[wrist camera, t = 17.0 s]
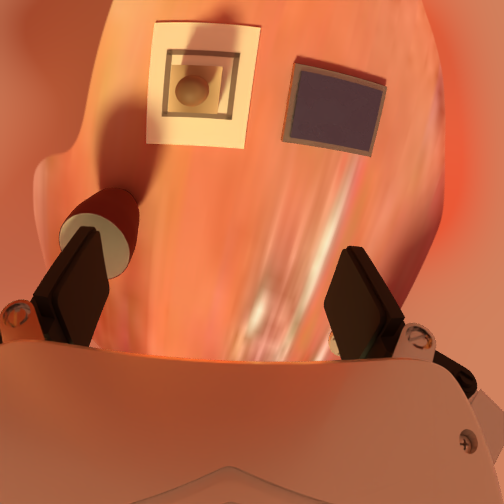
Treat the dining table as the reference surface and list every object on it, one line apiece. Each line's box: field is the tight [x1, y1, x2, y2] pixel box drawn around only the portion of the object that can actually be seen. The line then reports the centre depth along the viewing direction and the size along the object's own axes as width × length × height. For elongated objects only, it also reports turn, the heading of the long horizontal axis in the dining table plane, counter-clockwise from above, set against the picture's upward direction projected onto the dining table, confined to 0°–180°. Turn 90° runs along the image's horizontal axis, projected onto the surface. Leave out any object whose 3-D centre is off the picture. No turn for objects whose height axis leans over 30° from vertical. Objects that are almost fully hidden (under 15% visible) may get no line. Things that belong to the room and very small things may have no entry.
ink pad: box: [281, 63, 387, 157], centre depth 30 cm, size 11×9×2 cm
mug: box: [59, 188, 139, 279], centre depth 31 cm, size 11×8×10 cm
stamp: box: [168, 65, 223, 114], centre depth 24 cm, size 4×4×9 cm
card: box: [146, 22, 261, 149], centre depth 28 cm, size 11×14×1 cm
